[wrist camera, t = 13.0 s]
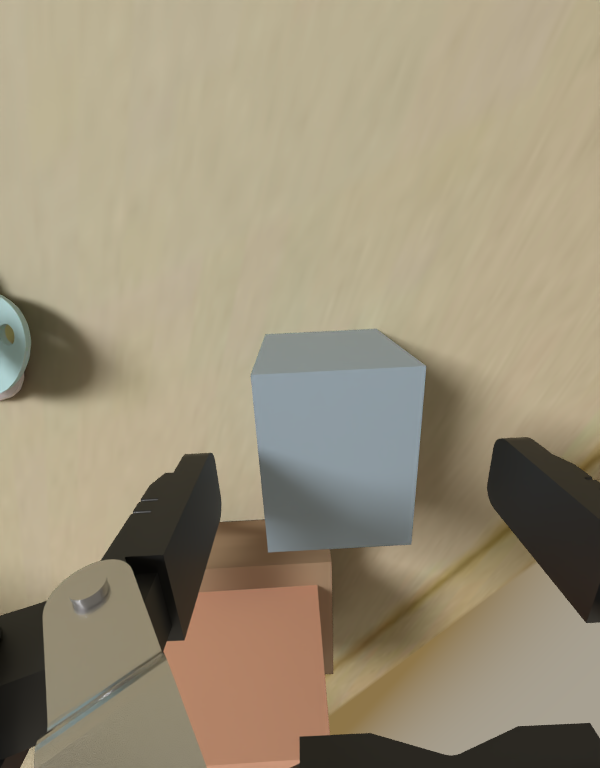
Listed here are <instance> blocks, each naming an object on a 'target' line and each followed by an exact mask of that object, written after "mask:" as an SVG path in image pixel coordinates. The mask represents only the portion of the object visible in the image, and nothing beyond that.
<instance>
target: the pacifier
mask: <svg viewBox="0 0 600 768" xmlns="http://www.w3.org/2000/svg"><path fill="white" fill-rule="evenodd" d="M13 342H14V343H13ZM30 349H31V337H30V331H29V327H28V324H27V321H26V319H25V317H24V316H23V314H22V312H21V311H20V309H19V308H18V307H17V306H16V305H15V304H14V303H13V302H12V301H11V300H9V299H7V298H6V297H4V296H2V295H0V401H1V400H4V399H7V398H11V397H13V396H14V395H15V394H16V393H17V392H18V391H20V390H21V387H22V384H23V381H24V371H25V369H26V366H27V364H28V361H29V357H30Z"/></svg>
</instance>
